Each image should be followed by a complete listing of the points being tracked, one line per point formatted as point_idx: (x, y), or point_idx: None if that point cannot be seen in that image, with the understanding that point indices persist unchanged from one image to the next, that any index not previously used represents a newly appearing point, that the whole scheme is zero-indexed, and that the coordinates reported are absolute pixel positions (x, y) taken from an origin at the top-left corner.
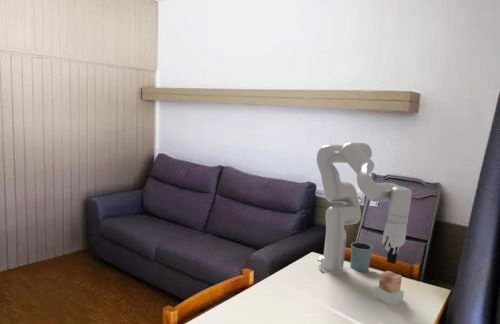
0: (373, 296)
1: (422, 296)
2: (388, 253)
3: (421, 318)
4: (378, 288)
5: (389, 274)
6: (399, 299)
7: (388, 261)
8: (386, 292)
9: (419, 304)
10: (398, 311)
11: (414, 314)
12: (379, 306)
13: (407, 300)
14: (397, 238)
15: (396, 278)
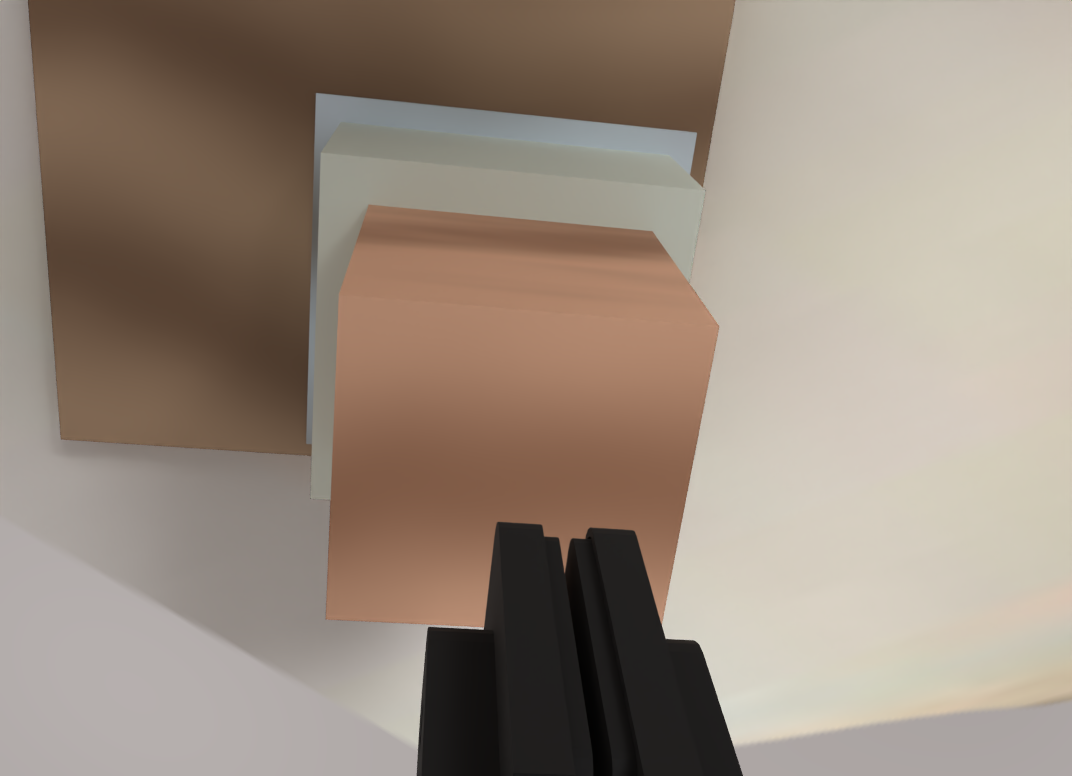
0: (346, 108)
1: (1040, 500)
2: (509, 753)
3: (401, 716)
4: (336, 218)
5: (492, 453)
6: None
7: (492, 580)
8: (314, 384)
9: (757, 569)
10: None
11: None
12: None
13: (755, 433)
14: None
15: (438, 617)
